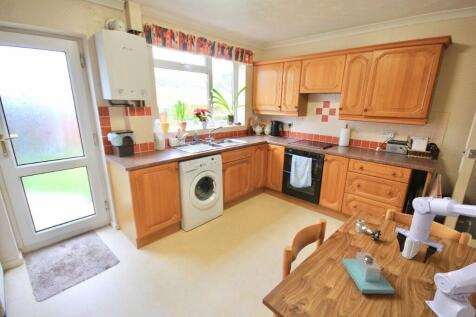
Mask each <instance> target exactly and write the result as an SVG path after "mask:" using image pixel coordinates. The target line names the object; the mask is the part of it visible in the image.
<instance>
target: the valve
mask: <svg viewBox="0 0 476 317" xmlns="http://www.w3.org/2000/svg"><path fill="white" fill-rule="evenodd" d="M355 232H356V233H358V234H363V232H364V233H368V234H371V236H370V237H371V241H372V242H377V241H378V240H380V239H381V238H380V236H382V230H380V229H378V228H377V229H375V231H372V230H371V229H369V227H368V226H366V225H365V220H364V219H361V218H358V219H357V220H356V224H355Z"/></svg>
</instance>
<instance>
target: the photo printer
mask: <svg viewBox="0 0 476 317" xmlns="http://www.w3.org/2000/svg"><path fill="white" fill-rule="evenodd" d="M420 245H421V243H420V242H418V243H417V242H414V241H412V239H410V238H409V237H407V238H406V241H405V246H404V250H403V251H402V253H401V256H402V257H403V258H405V259H407V260H411V259H413V257H415V256H416V255H417V254H418V252H419V250H420Z"/></svg>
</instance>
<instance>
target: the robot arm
mask: <svg viewBox="0 0 476 317" xmlns="http://www.w3.org/2000/svg"><path fill="white" fill-rule="evenodd" d="M411 205H412V208H413V209H414V212H413V218H412V220H411V224H410V227H409V230H408V229H406V228H405V229H404V228H401V227H398V226H397V227H395V230H394V233H395V234H396V239H397V242H398V246H399V252H400V253H401V254H402V251H403V250H404V246H405V241H406V238H407V237H409V238H410V239H412V241H414V242H417V243H418V242H420V244H424V245H426V246H427V248H426V251H425V256H424V258H423V261H422V263H423V264H426V263H427V261H428V260H429V259H430V258H431V257H432V256H433V255H435V254H436V253H437V251H438V252H442V251H443V248H444V244H441V243H439V242H437V241H435V240H433V239H432V238H429V235H430V232H431V230H432V225H433V222H434V219H435V217H437V216H436V215H438V216H444V217H451V218H457V217H459V216H460V215H461V216H466V217H471V218H476V205H475V204H474V205H471V204H461V203H460V202H459V201H458V200H456V199H452V198H451V197H450V196H448V197H443V198H439V197H436V196H424V197H423V196H421V197H420V196H419V197H415V198H414V199H413V200H412V204H411ZM433 276H434V277H433V280H434V284H435V287H436V290H435V293H434V297H433V300H425V301H424V302H425V303H426V305H427V306H428V307H429V308H430V309H431V310H432V311H433V312H434V314H436V316H437V317H476V309H475V308H474V307H473V305H472V304H471V303H470V301H469V297H470V295H471V294H474V293H476V261H475V262H473V263H471V264H469V265H466V266H465V267H462V268H460V269H455V270H452V271H449V272H437V273H435V275H433Z"/></svg>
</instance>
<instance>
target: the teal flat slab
mask: <svg viewBox="0 0 476 317" xmlns="http://www.w3.org/2000/svg"><path fill="white" fill-rule="evenodd" d="M355 261H356V258H342V260H341V263H342V264H343V266H344V268H345V269H346V270H347V272H348V274H349V276H350V277H351V278H352V280H353V281H354V283H355V285H356V286H357V288H358V290H359V291H360V293H361V294H363V295H365V294H369V295H371V294H372V295H389V294H395V289H394V287H393V286H392V285H391V283H389V281H388V280H387V279H386V277H385V276H384V275H383V274H382V272H380V277H379V281H378V282H370V281H364V279H363V277H362V276H361V274H360V272H359V270H358V269H357V267H356V265H355Z"/></svg>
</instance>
